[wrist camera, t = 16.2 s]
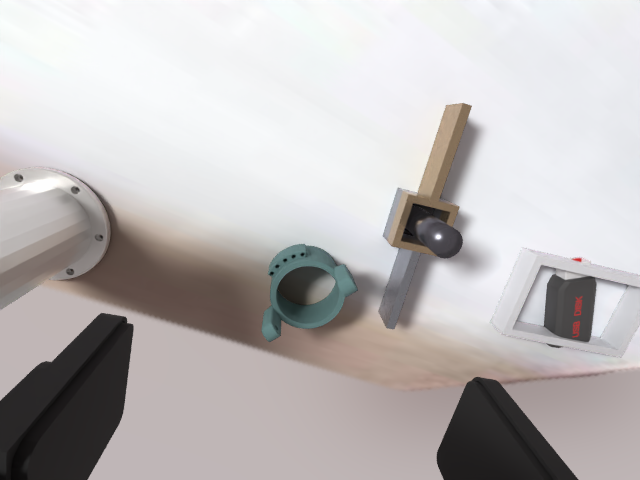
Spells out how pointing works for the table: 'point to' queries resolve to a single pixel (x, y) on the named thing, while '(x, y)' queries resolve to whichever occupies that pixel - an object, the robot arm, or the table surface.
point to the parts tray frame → (629, 314)
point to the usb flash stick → (570, 304)
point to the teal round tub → (304, 313)
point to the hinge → (426, 196)
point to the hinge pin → (434, 233)
